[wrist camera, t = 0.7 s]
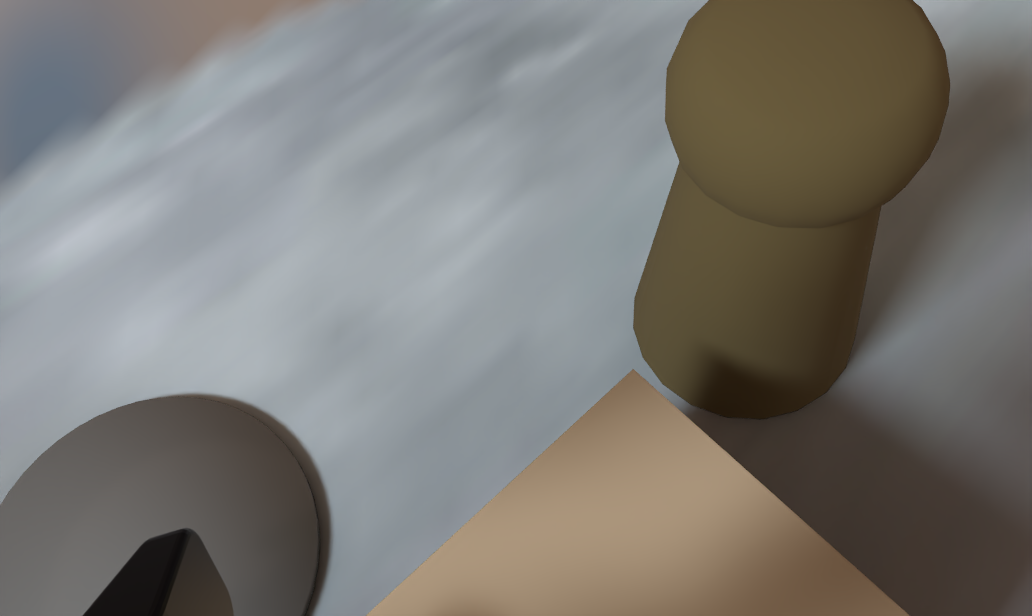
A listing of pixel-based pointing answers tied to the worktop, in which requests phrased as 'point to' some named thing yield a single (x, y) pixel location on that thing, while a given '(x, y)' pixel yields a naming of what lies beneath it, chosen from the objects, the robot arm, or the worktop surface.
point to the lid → (636, 533)
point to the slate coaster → (160, 508)
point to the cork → (781, 191)
